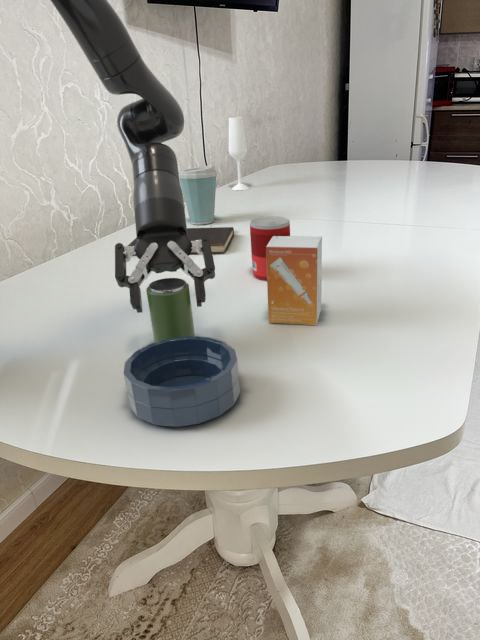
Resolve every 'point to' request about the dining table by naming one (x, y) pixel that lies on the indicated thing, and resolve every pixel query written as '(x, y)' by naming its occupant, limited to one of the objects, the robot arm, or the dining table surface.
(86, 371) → the dining table surface
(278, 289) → the small box
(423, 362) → the dining table surface
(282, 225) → the canned food
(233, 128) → the champagne flute
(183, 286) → the slim can
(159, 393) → the bowl
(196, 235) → the hardcover book
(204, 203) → the disposable coffee cup
